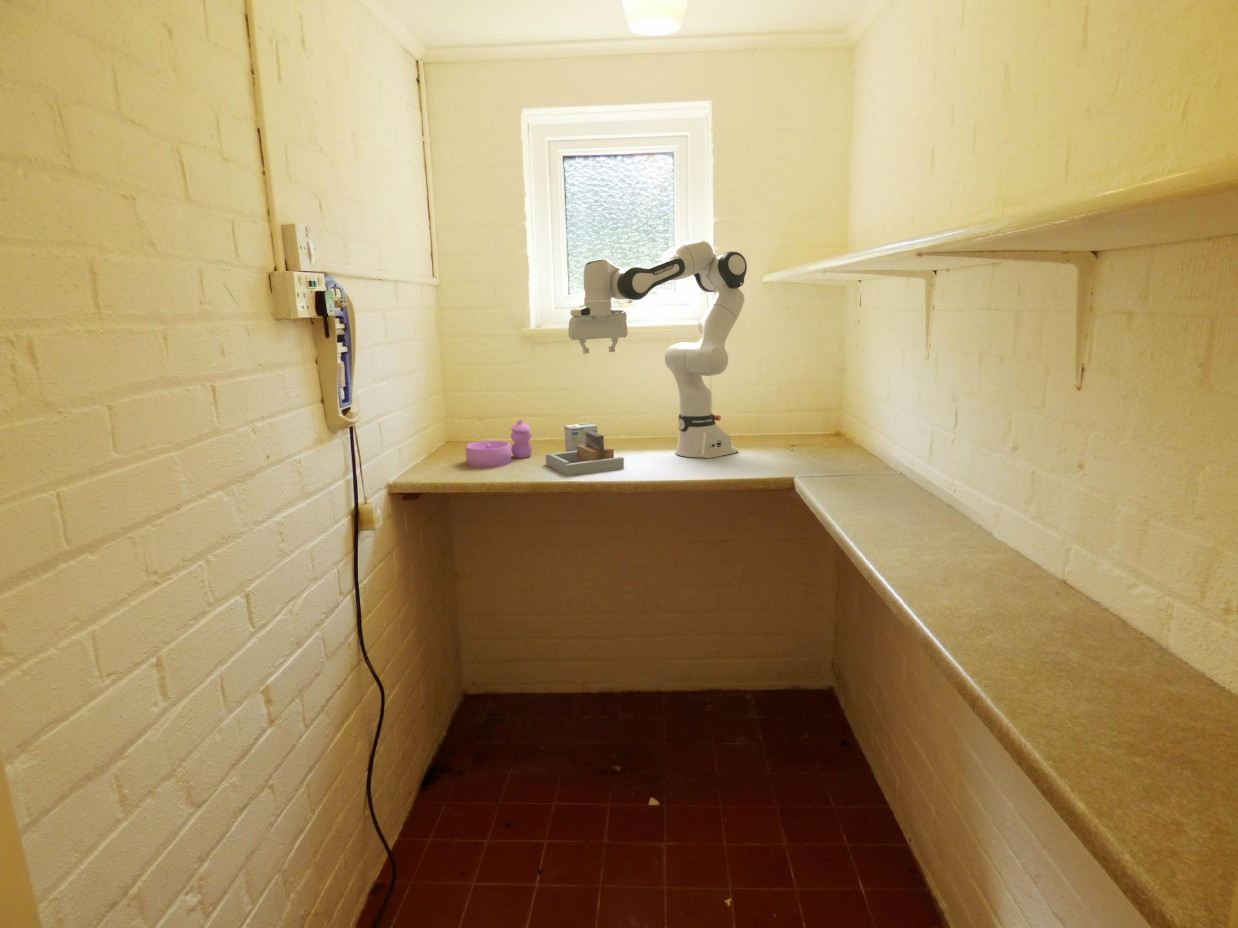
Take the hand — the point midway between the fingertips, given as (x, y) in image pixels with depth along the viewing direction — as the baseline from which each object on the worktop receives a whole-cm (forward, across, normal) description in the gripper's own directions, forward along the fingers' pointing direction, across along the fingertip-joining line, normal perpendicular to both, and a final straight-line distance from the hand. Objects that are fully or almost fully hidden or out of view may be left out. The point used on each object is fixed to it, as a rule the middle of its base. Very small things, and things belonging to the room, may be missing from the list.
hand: (599, 352), depth 238 cm
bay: (+37, +8, +3) cm, 38 cm away
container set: (+38, +29, -21) cm, 52 cm away
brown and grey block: (+37, +4, +3) cm, 37 cm away
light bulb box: (+37, +1, -15) cm, 40 cm away
